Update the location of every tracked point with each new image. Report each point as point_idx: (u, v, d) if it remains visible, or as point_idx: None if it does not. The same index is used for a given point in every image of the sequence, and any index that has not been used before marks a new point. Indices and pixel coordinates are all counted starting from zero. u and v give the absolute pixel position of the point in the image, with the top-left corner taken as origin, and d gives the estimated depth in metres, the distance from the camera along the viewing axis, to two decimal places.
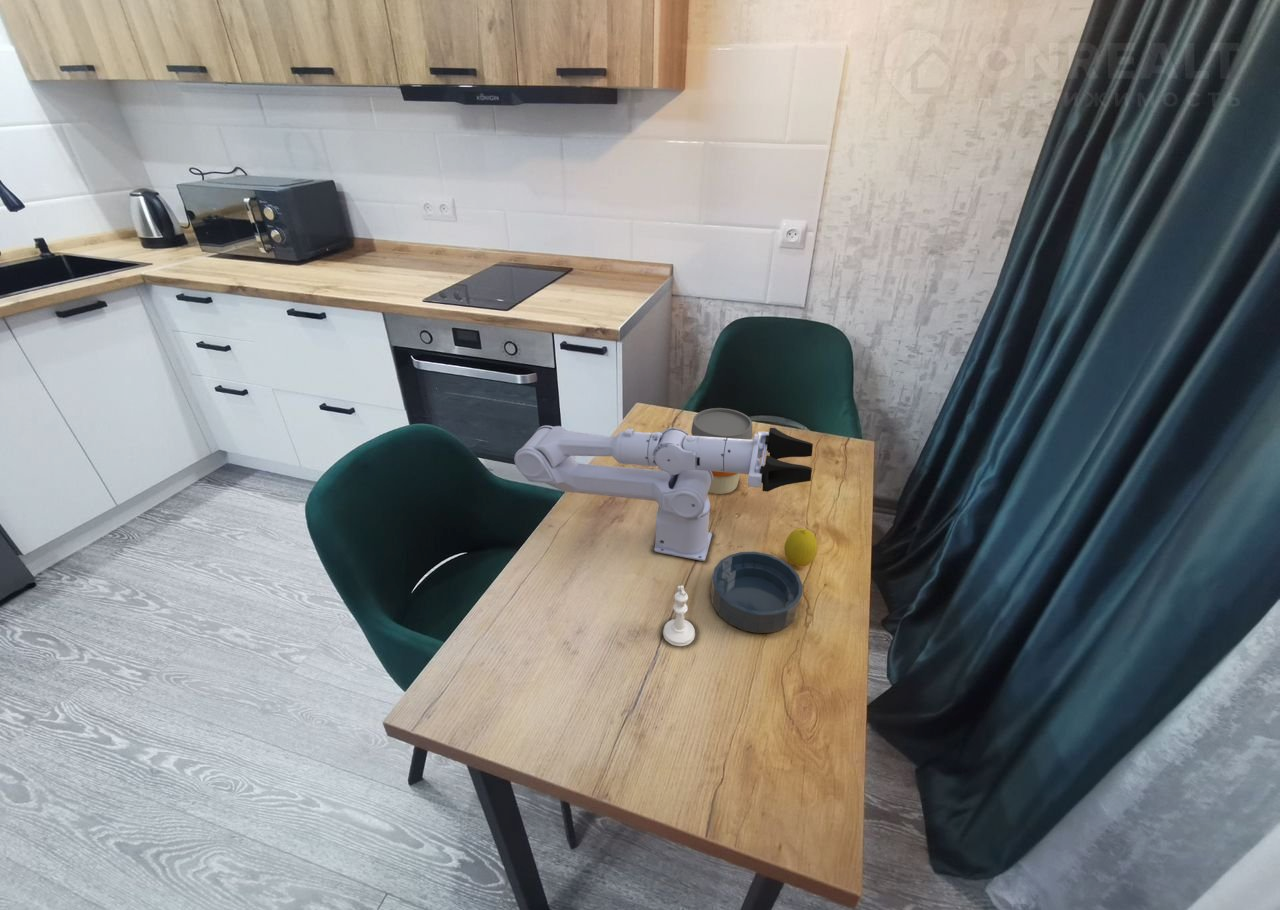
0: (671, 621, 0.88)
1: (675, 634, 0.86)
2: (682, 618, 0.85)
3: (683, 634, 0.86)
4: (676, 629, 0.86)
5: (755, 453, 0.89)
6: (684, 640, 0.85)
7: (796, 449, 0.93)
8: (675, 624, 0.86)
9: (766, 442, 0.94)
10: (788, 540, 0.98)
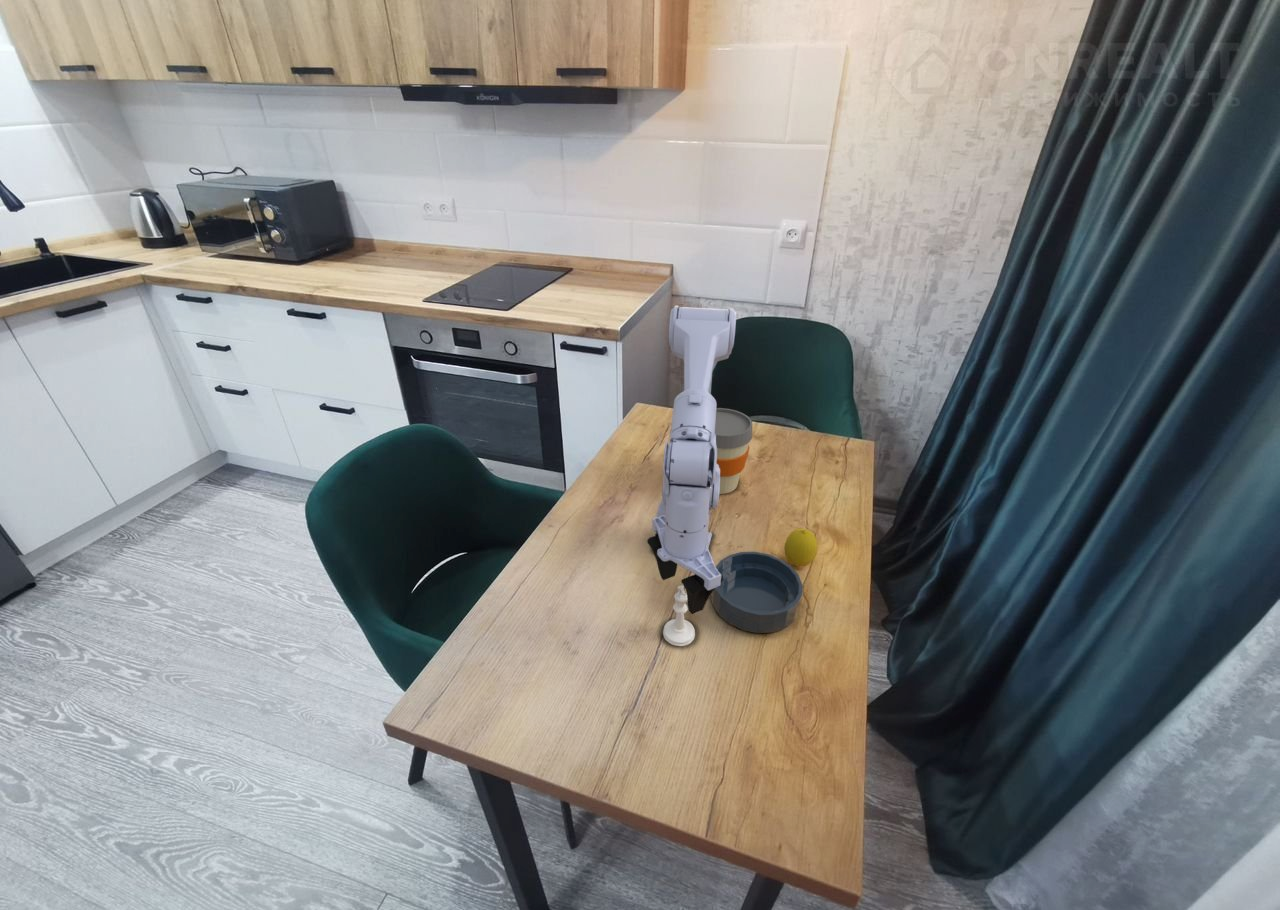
0: (671, 621, 0.88)
1: (675, 634, 0.86)
2: (682, 618, 0.85)
3: (683, 634, 0.86)
4: (676, 629, 0.86)
5: (660, 542, 0.79)
6: (684, 640, 0.85)
7: None
8: (675, 624, 0.86)
9: (695, 573, 0.76)
10: (788, 540, 0.98)
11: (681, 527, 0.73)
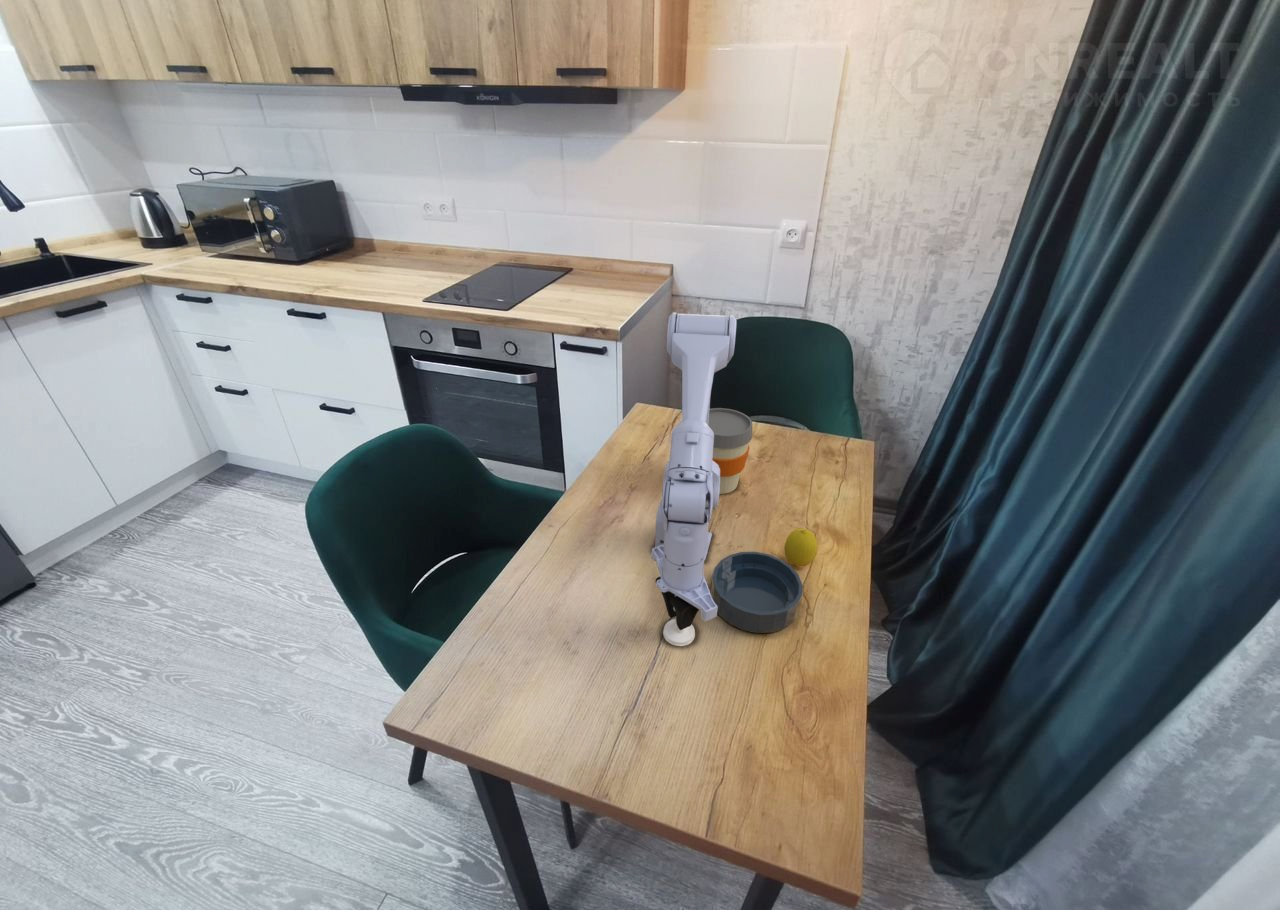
0: (671, 621, 0.88)
1: (675, 634, 0.86)
2: None
3: (683, 634, 0.86)
4: (676, 629, 0.86)
5: (659, 572, 0.82)
6: (684, 640, 0.85)
7: None
8: (675, 624, 0.86)
9: None
10: (788, 540, 0.98)
11: (679, 561, 0.76)
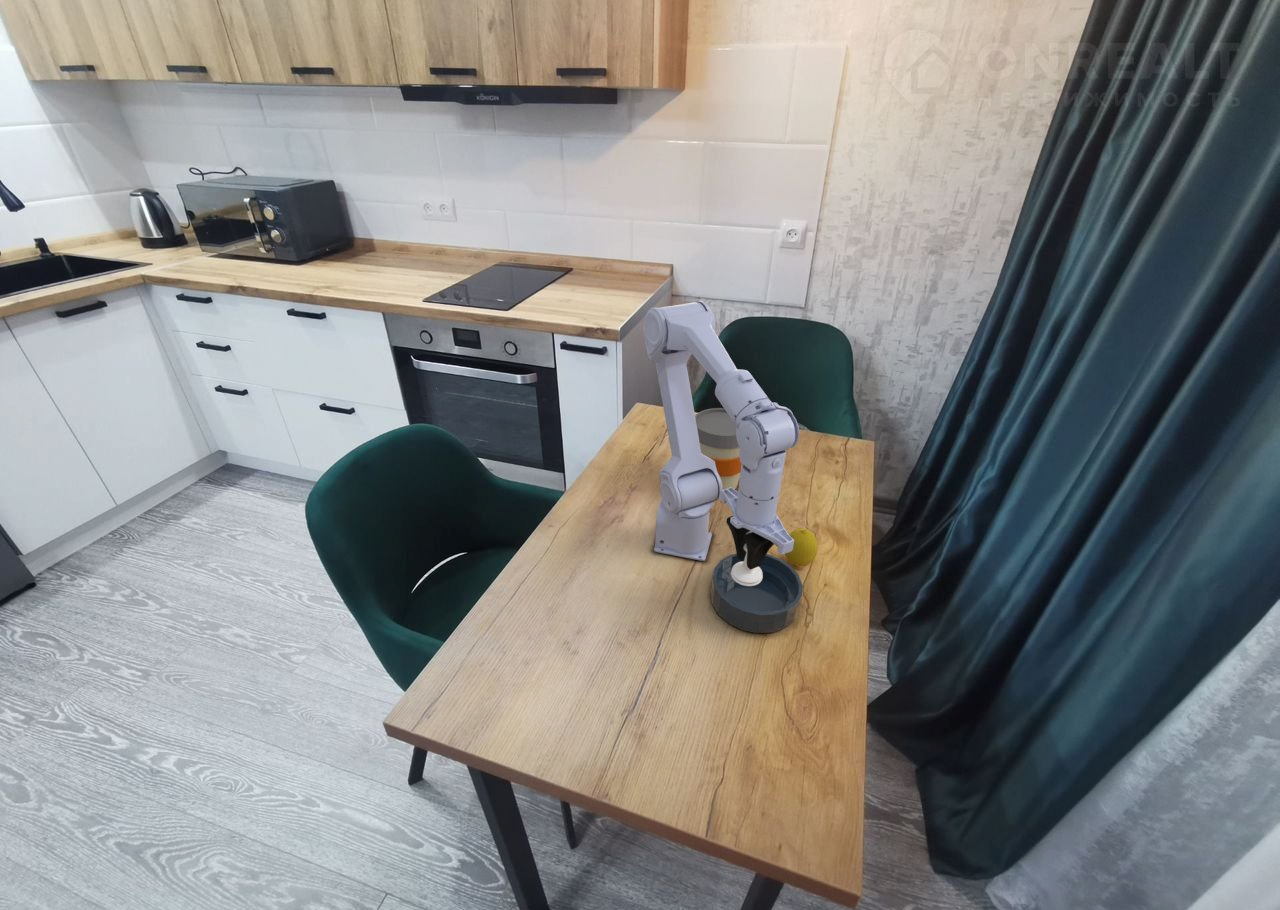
0: (739, 563, 0.89)
1: (744, 574, 0.87)
2: None
3: (752, 575, 0.87)
4: (745, 570, 0.87)
5: (731, 511, 0.83)
6: (753, 580, 0.86)
7: None
8: (744, 565, 0.87)
9: None
10: None
11: (769, 495, 0.77)
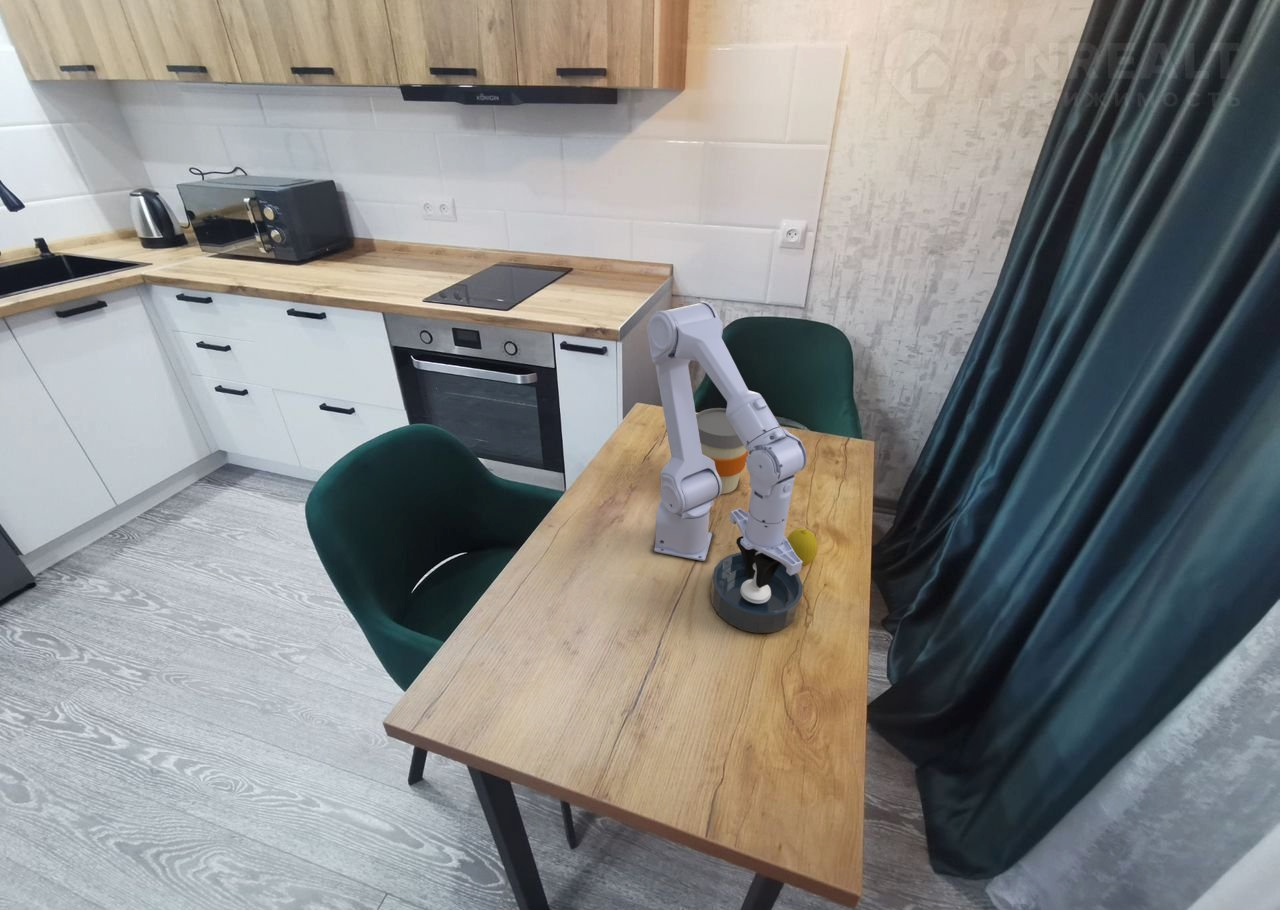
0: (748, 581, 0.93)
1: (753, 592, 0.90)
2: None
3: (761, 592, 0.90)
4: (754, 587, 0.90)
5: (741, 532, 0.87)
6: (762, 598, 0.90)
7: None
8: (753, 583, 0.90)
9: None
10: (788, 540, 0.98)
11: (780, 518, 0.81)
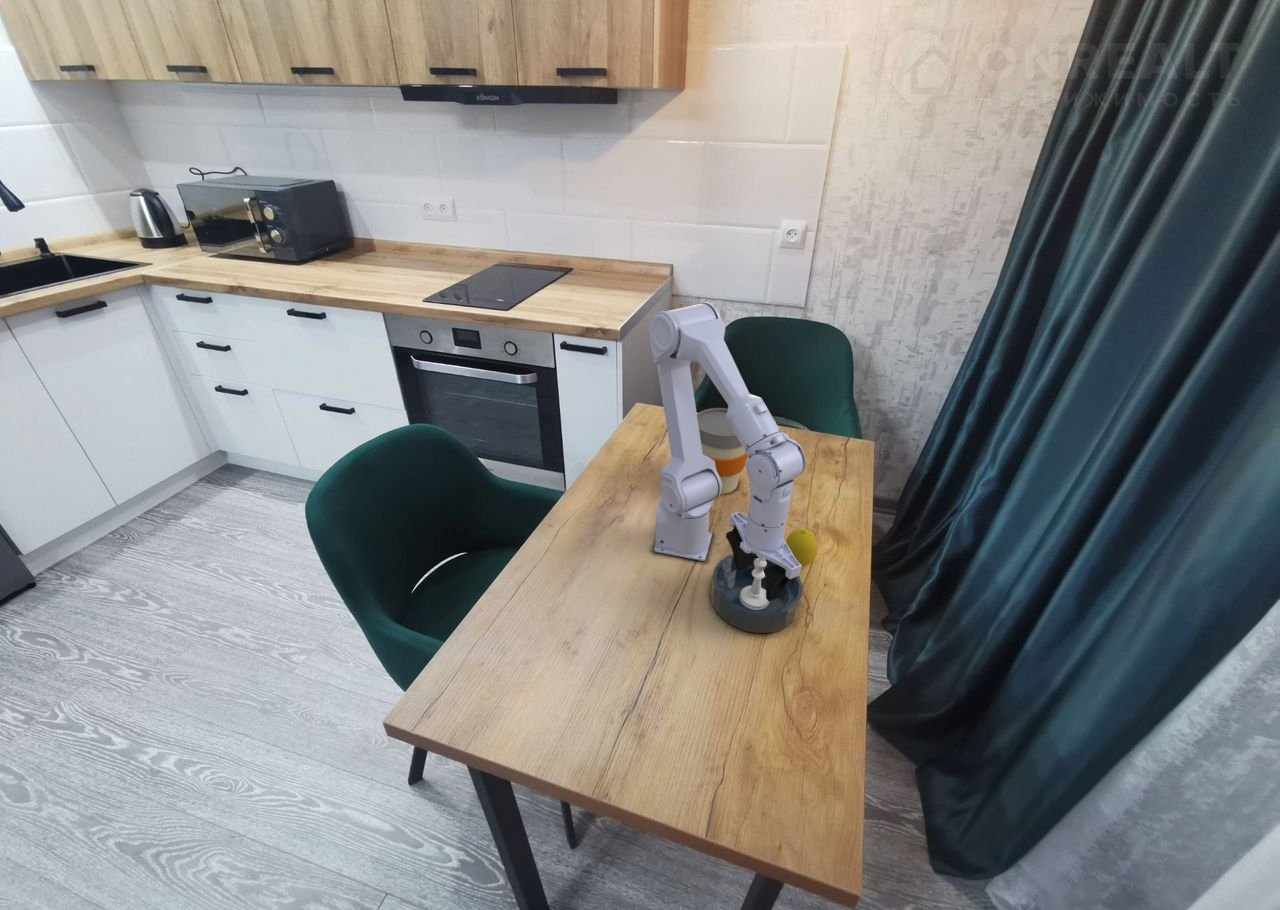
0: (747, 588, 0.93)
1: (752, 599, 0.91)
2: (759, 583, 0.90)
3: (760, 599, 0.91)
4: (753, 594, 0.91)
5: (741, 536, 0.87)
6: (761, 604, 0.91)
7: None
8: (752, 589, 0.91)
9: (776, 564, 0.84)
10: (788, 540, 0.98)
11: (780, 522, 0.81)
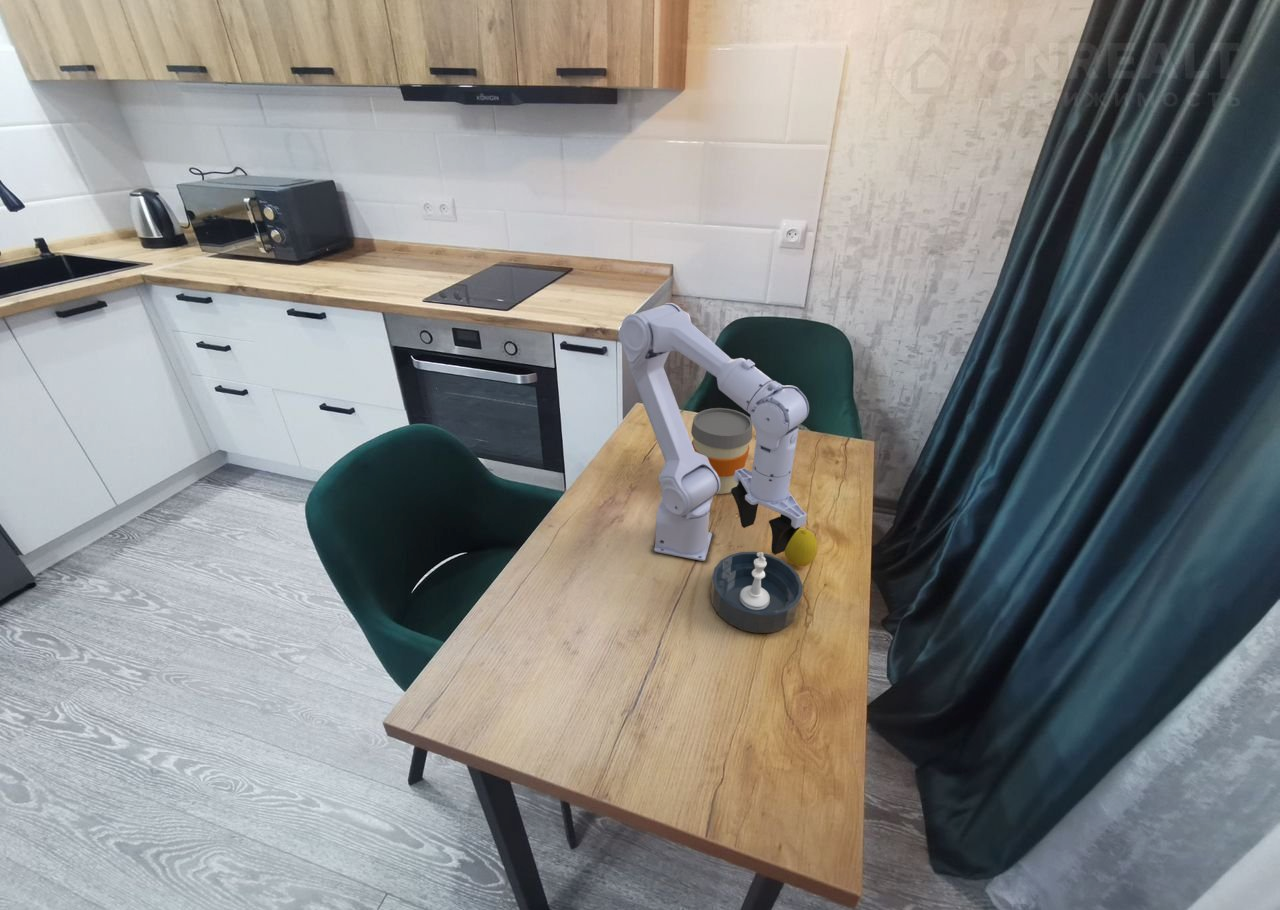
0: (747, 588, 0.93)
1: (752, 599, 0.91)
2: (759, 583, 0.90)
3: (760, 599, 0.91)
4: (753, 594, 0.91)
5: (746, 489, 0.87)
6: (761, 604, 0.91)
7: None
8: (752, 589, 0.91)
9: (781, 515, 0.84)
10: None
11: (787, 470, 0.81)
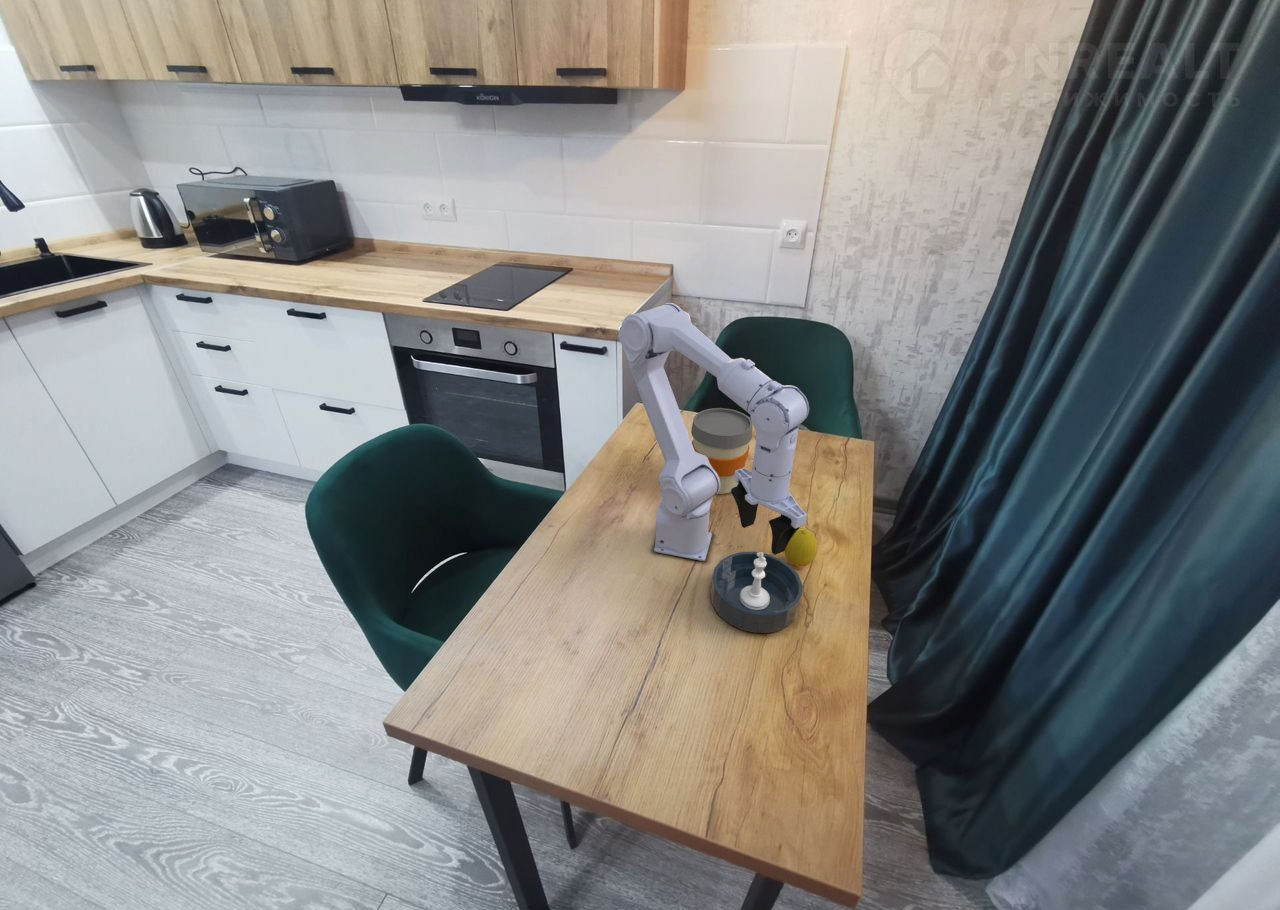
0: (747, 588, 0.93)
1: (752, 599, 0.91)
2: (759, 583, 0.90)
3: (760, 599, 0.91)
4: (753, 594, 0.91)
5: (746, 489, 0.87)
6: (761, 604, 0.91)
7: None
8: (752, 589, 0.91)
9: (781, 515, 0.84)
10: None
11: (787, 470, 0.81)
